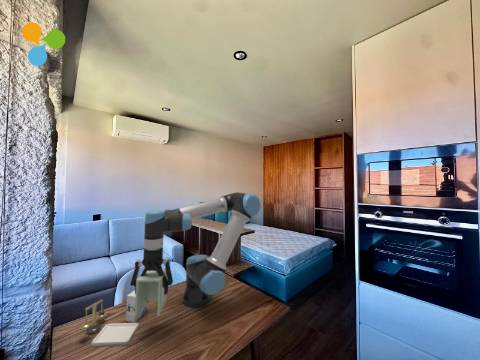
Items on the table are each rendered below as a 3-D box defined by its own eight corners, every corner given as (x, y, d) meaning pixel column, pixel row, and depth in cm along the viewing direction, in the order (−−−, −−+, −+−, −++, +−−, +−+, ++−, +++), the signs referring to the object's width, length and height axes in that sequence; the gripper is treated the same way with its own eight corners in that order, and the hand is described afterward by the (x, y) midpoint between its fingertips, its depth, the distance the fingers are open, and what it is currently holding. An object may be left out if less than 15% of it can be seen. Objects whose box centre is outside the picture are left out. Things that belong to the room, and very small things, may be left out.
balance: (88, 343, 79) (89, 311, 79) (75, 343, 78) (76, 311, 79) (109, 318, 93) (110, 291, 93) (98, 319, 93) (99, 291, 93)
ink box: (138, 310, 100) (139, 286, 100) (147, 311, 99) (148, 287, 99) (125, 321, 92) (126, 295, 92) (134, 323, 91) (135, 296, 91)
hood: (166, 299, 92) (167, 268, 92) (158, 315, 81) (160, 280, 81) (145, 300, 91) (147, 268, 91) (134, 316, 80) (136, 280, 80)
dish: (138, 326, 89) (139, 322, 89) (127, 345, 79) (127, 341, 79) (106, 327, 88) (106, 323, 88) (90, 346, 77) (91, 342, 78)
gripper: (181, 245, 90) (179, 296, 89) (130, 244, 88) (128, 296, 88) (178, 250, 82) (175, 306, 82) (122, 250, 81) (119, 307, 80)
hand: (151, 301), depth 85 cm, fingers closed on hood, 9 cm apart
